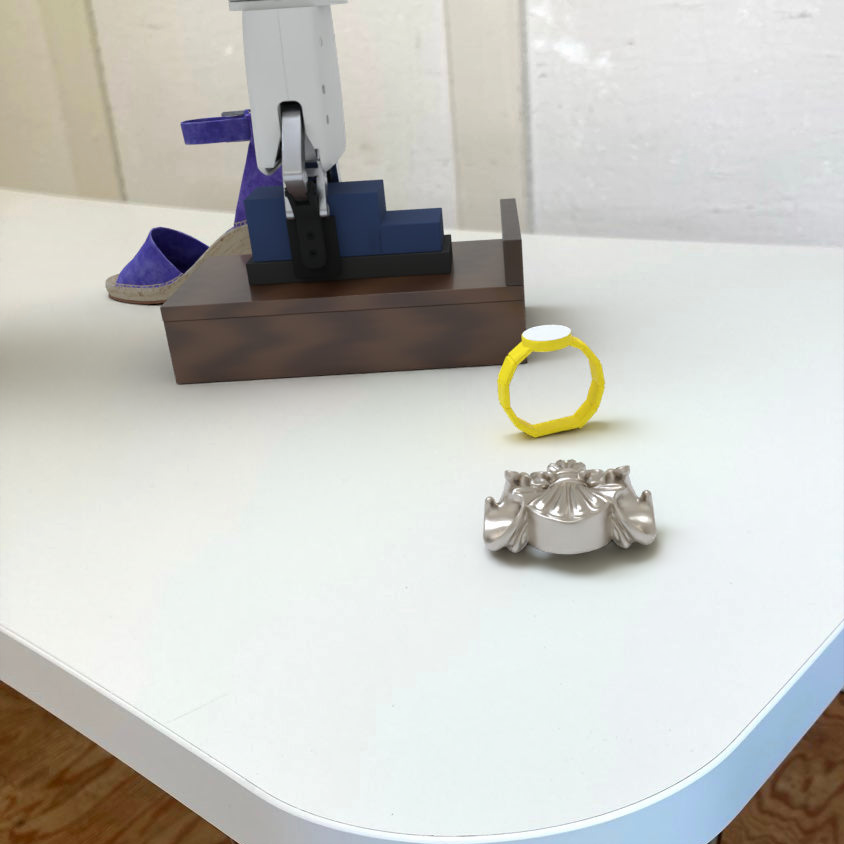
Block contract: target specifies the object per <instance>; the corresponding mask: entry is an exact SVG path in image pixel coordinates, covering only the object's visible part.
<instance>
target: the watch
mask: <svg viewBox="0 0 844 844" xmlns="http://www.w3.org/2000/svg"><path fill="white" fill-rule="evenodd" d="M572 333H573V332H572V330H571V328H570V327H568V326H565V325H562V324H543V325H537V326H533V327H530V328H528V329H527V328H526V331H524V332H523V334H522V336H521V337H522V342H520V343H519V344H518V345H517V346H516V347H515V348H514V349H513V350H512V351H510V352H509V353H508V356H506V358H505V360H504V363H503V364H501V365H502V366H501V367H500V370H499V373H498V374H497V380H496V382H497V383H496V384H497V398H498V401H499V405H500V406H501V408H502V409H503V411H504V412H505V415H506V416H507V417H508V419H509V420H510V421H511V423H512V424H513V426H514V427H516V429H517V430H519V431H521V432H522V433H525V434H527V435H529V436H530V437H533V438H534V439H536V438H538V437H545V436H547V435H552V434H555V433H560V432H564V431H565V432H567V431H570V430H574V429H578V428H579V429H582V428H583V427H585V426H586V425H587V423H588V422H589V421H590V420H591V419H592V417H593V416H594V415H595V414H596V413H597V412H598V409H599V408H600V406H601V403H602V399H603V396H604V391H605V389H606V386H605V385H606V381H605V375H604V370H603V364H602V363H601V360H600V359H599V357H598V356H597V355H596V354H595V353H594V352H593V350H592V348H590V346H589V345H587V344H586V343H585V342H584V341H583V340H582V339H580V338H579V337H577V336H574V335H572ZM568 347H572V348H575V349H578V350H580V351H581V352H582V354H583V355H584V356H585V357H586V358H587V360H588V364H589V365H588V366H589V370H590V375H591V381H590V385H589V389H588V392H587V395H586V399H585V400H584V401H583V402H582V403H581V405H580V406H579V407H578V408H577V410H575V412H574V413H573V414H572V415H568V416H564V417H559V418H555V419H551V420H547V421H543V422H538V423H535V424H531V423H529V422H528V421H526V420H524V419H522V418H521V417H518V416H517V414H516V413H515V411H514V409H513V408H512V407H511V393H510V384H511V383H512V380H513V378H514V376H515V373H516V371H517V368H518V366H519V365H520V364H522V363H521V362H522V361H523V360H524V359H525V358H526V357H527V356H530V355H531V354H532V353H533V352H535V353H550V352H555V351H560V350H563V349H565V348H568Z"/></svg>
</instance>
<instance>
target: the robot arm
mask: <svg viewBox="0 0 844 844" xmlns="http://www.w3.org/2000/svg"><path fill="white" fill-rule="evenodd" d="M227 3H228V9H229V10H228V11H229V12H240V11H241V20H242V21H241V23H242V26H241V27H242V43H243V55H244V56H243V57H244V67H245V75H246V76H245V77H246V86H247V94H248V103H249V109H250V111H251V112H250V113H251V119H252V127H253V136H254V144H255V152H256V160H257V166H258V169H259V170H260V171H261V172H262V173H263V174H265V175H272V174H273V173H274V172H275V171H276V170H277V169H278V168H279V167H280V166H281V165H282V177H283V188H284V199H285V210H286V217H287V219H286V223H287V230H288V236H289V243H290V250H291V256H292V263H293V269H294V275H295V276H296V277H297V278H299V279H306V278H322V277H336V276H339V275H340V273H341V271H342V267H341V260H340V252H339V244H338V237H337V229H336V221H335V215H334V216H330V210H329V198H328V186H327V183H331V182H343V181H342V175H341V169H340V163H339V160H340V159H341V157H342V156H343V154H344V153H345V151H346V145H347V139H346V125H345V124H346V122H345V111H344V102H343V101H344V100H343V92H342V83H341V76H340V75H341V74H340V67H339V58H338V50H337V42H336V34H335V28H334V21H333V14H332V8H331V7H332V5H333V6H334V5H341V4H342V5H343V4H348V3H349V1H348V0H227ZM314 183H317V186H315V185H314ZM316 189H317V191H318V193H317V192H316ZM317 194H318V195H317Z"/></svg>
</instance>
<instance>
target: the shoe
mask: <svg viewBox="0 0 844 844" xmlns="http://www.w3.org/2000/svg"><path fill="white" fill-rule="evenodd" d="M314 185H315V186H317V183H314ZM327 186H328V198H329V210H330V216H334V215H335V221H336V229H337V237H338V244H339V252H340V260H341V267H342V271H341V273H340V275H339V276H336V277H322V278H306V279H299V278H297V277H296V276H295V275H294V269H293V263H292V256H291V250H290V243H289V236H288V230H287V223H286V219H287V217H286V210H285V199H284V188H283V185H281V186H264V187H257V188H256V189H255V190H254V191H253V192H252V193H251V194H250V195H249V196H248V197H247V198H245V199H244V207H245V213H246V220H247V226H248V232H249V238H250V244H251V250H252V257H251V258H250V259H249V261H248V262H247V263H246V269H247V275H248V281H249V285H262V284H279V283H296V282H313V281H329V280H346V279H363V278H380V277H396V276H413V275H430V274H446V273H451V265H452V255H453V252H452V242H453V241H452V240H453V239H452V234H451V233H449V234H445V230H444V217H443V208H442V207H426V208H412V209H411V208H410V209H394V210H387V203H386V194H385V183H384V179H368V180H365V179H364V180H352V181H351V180H350V181H349V180H347V181H342V182H331V183H327ZM316 192H317V193H318V191H317V189H316ZM317 195H318V194H317Z"/></svg>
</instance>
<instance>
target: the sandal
mask: <svg viewBox="0 0 844 844" xmlns="http://www.w3.org/2000/svg"><path fill="white" fill-rule="evenodd" d="M180 128H181V133H182V138H183V143H184V144H185V145H186V146H192V145H193V146H194V145H195V146H196V145H209V144H221V143H227V144H228V143H242V142H248V146H247V153H246V157H245V158H246V159H245V163H244V167H243V173H242V177H241V182H240V188H239V193H238V196H237V197H238V198H237V202H236V208H235V213H234V214H235V215H234V220H233V226H231V228H229V229H228V230H226V231H225V232H224V233H223V234H222V235H220V236H219V237H218V238H217V239H216V240H214V242H213V243H212V244H210V245H207V244H206V243H205V242H202V241H201V240H199V239H197V238H196V237H194V236H192V235H190V234H188V233H185V232H183V231H181V230H177V229H174V228H170V227H164V226H156V227H152V228H151V229H150V230H149V232H148V234H147V236H146V239H145V241H144V242H143V243H142V245H141V246H140V248H139V250H138V251H137V252H136V254H135V255H134V256H133V258H132V259H131V260H130V261H128V263H127V264H126V265H125V266H124V267H123V268H122V269H121V270H120V272H119V273H117V274H114V275H112V276H109V277H107V278H106V279H105V290H106V291H107V293H108V297H109V298H110V299H112V300H115V301H119V302H124V303H130V304H136V305H138V304H139V305H140V304H141V305H153V304H164V303H165V302H166V301H167V300H168V299H169V297H170V296H171V295H172V294H173V293H174V292H175V291H176V290H177V289H178V288H179V287H180V286H181V285H182V284H183V283H184V282H185V281H186V280H187V279H188V278H189V277H190V276H191V275H192V274H193V272H194V271H195V270H196V269H197V268H198V267H199V266H200V265H201V264H202V263H203V262H204V261H205V260H206V259H207V258H208V257H211V256H227V255H244V254H252V250H251V244H250V238H249V232H248V226H247V220H246V213H245V207H244V199H245V198H247V197H248V196H249V195H250V194H251V193H252V192H253V191H254V190H255V189H256V188H257V187H264V186H281V185H283V177H282V165H281V166H280V167H279V168H278V169H277V170H276V171H275V172H274V173H273V174H272V175H265V174H263V173H262V172H261V171H260V170H259V169H258V166H257V160H256V152H255V144H254V136H253V127H252V119H251V111H250V108H246V109H244V110H243V109H242V110H232V111H231V110H230V111H229V110H228V111H222V112H221V114H220V116H214V117H213V116H212V117H201V118H195V119H187V120H183V121H181V122H180Z"/></svg>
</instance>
